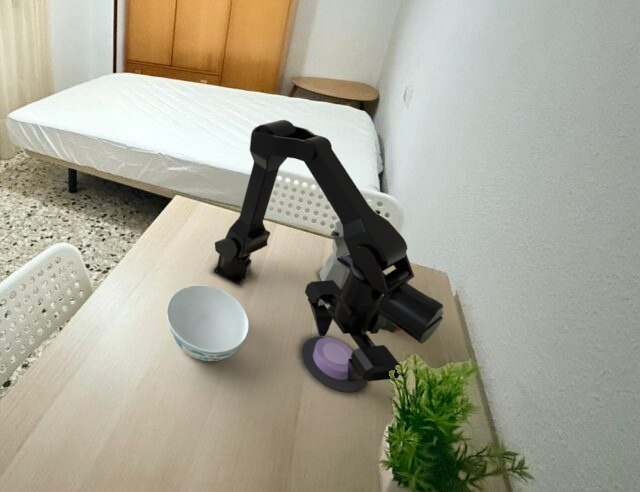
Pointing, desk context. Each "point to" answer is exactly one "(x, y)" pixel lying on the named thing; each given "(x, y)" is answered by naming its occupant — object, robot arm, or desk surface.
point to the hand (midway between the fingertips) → (335, 356)
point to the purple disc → (332, 357)
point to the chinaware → (207, 322)
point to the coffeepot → (335, 258)
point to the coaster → (324, 378)
